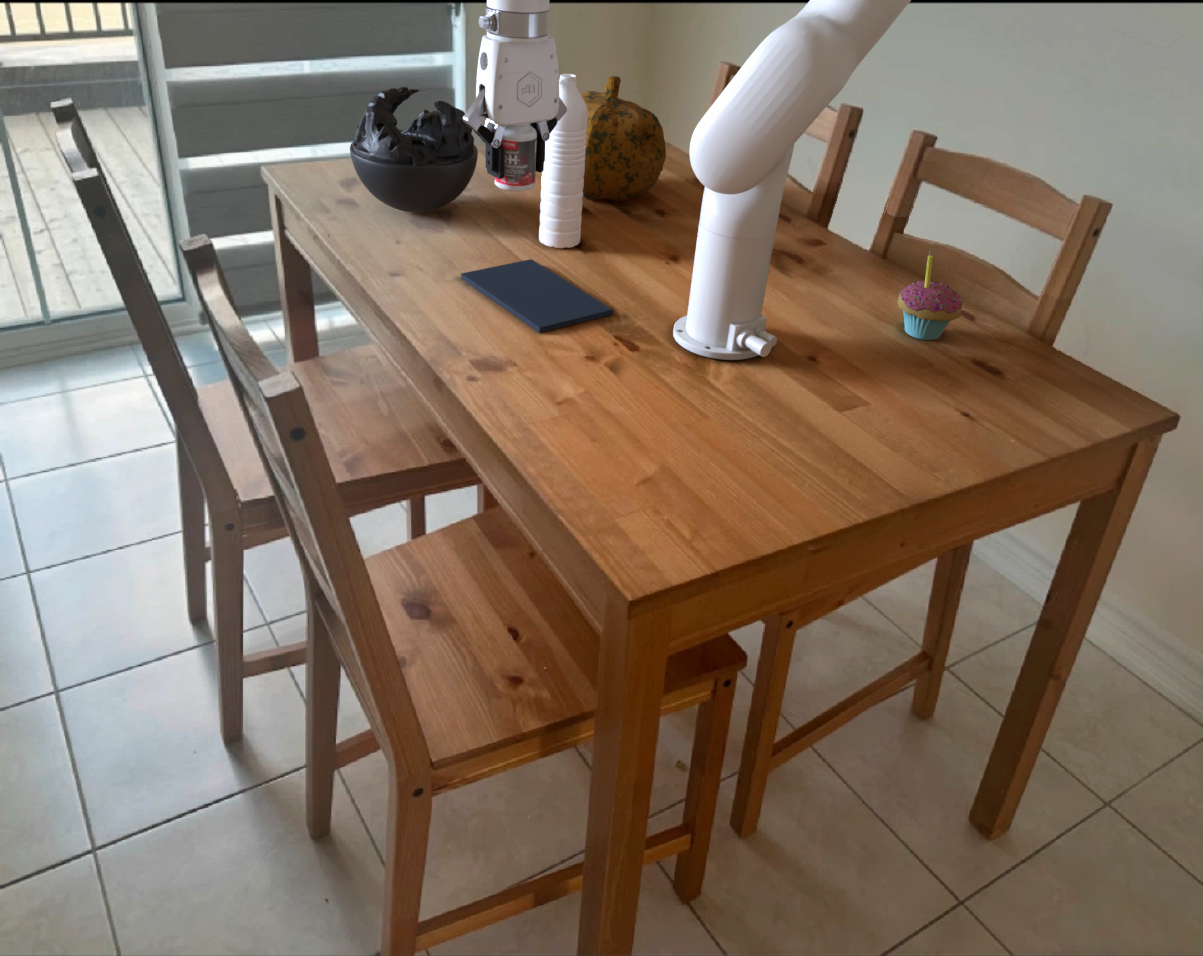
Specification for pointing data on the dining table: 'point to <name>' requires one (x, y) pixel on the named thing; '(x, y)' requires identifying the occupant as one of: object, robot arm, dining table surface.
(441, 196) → the black sculptural bowl
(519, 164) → the pill bottle
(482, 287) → the mat
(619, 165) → the decorative pumpkin
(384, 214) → the dining table surface
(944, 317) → the cupcake
